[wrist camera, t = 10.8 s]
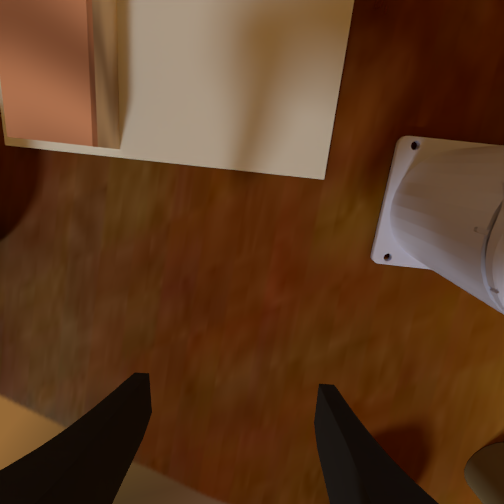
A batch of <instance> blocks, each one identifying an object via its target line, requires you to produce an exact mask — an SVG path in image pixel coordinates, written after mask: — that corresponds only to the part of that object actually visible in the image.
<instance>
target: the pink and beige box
mask: <svg viewBox="0 0 504 504" xmlns="http://www.w3.org/2000/svg"><path fill="white" fill-rule="evenodd" d="M0 82H1V90H2V98H3V106H4V114H5V122H6V130H7V137H13V138H22V139H31V140H40V141H48V142H57V143H66V144H75V145H84V146H93V147H102V148H112V149H120V134H119V85H118V36H117V0H0Z"/></svg>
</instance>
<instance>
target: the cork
mask: <svg viewBox="0 0 504 504" xmlns="http://www.w3.org/2000/svg"><path fill="white" fill-rule="evenodd" d="M464 471H465V479H466V481H467V483H468V485H469V486H470V488H471V489H472V490H473V491H474V493H475V494H476V495H477V496H478V498H479V499H480V500H481V501H482V503H483V504H504V442H501V443H495V444H492V445H489V446H486V447H484V448H482V449H481V450H479V451H478V452H476V453H475V454H474V455H473V456H472V457H471V458H470V459H469V461H468V462H467V465H466V467H465V469H464Z"/></svg>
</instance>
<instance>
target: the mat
mask: <svg viewBox="0 0 504 504" xmlns="http://www.w3.org/2000/svg"><path fill="white" fill-rule="evenodd" d="M353 5H354V0H117V36H118V85H119V134H120V149H112V148H102V147H93V146H84V145H75V144H66V143H57V142H48V141H40V140H31V139H22V138H13V137H7V130H6V122H5V114H4V106H3V98H2V90H1V82H0V110H1V117H2V125H3V133H4V140H5V145H8V146H18V147H27V148H36V149H45V150H55V151H64V152H73V153H82V154H92V155H101V156H110V157H119V158H129V159H138V160H147V161H157V162H166V163H175V164H184V165H194V166H203V167H212V168H221V169H231V170H240V171H249V172H259V173H268V174H277V175H286V176H296V177H305V178H314V179H323V180H324V177H325V171H326V165H327V159H328V153H329V147H330V142H331V136H332V130H333V124H334V118H335V112H336V106H337V100H338V94H339V88H340V82H341V76H342V70H343V65H344V59H345V53H346V47H347V41H348V35H349V29H350V23H351V17H352V11H353Z"/></svg>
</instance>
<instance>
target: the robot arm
mask: <svg viewBox="0 0 504 504" xmlns="http://www.w3.org/2000/svg"><path fill="white" fill-rule="evenodd" d="M412 142H416V144H417V147H416V149H414V150H413V149H412V148H411V144H412ZM386 254H389V258H388V259H384V256H385V255H386ZM371 259H372V260H373V261H374V262H375V263H378V264H387V265H396V266H405V267H414V268H423V269H432V270H433V271H435V272H437V273H438V274H440V275H441V276H443V277H445V278H446V279H448V280H449V281H451V282H453V283H454V284H456V285H457V286H459V287H461V288H462V289H464V290H465V291H467V292H469V293H470V294H472V295H473V296H475V297H477V298H478V299H480V300H481V301H483V302H485V303H486V304H488V305H489V306H491V307H493V308H494V309H496V310H497V311H499V312H501V313H502V314H504V145H492V144H483V143H473V142H464V141H455V140H445V139H436V138H426V137H417V136H403V137H401V138H400V139H399V140H398V141H397V143H396V147H395V151H394V155H393V160H392V164H391V168H390V173H389V177H388V182H387V186H386V190H385V195H384V199H383V203H382V208H381V212H380V216H379V221H378V225H377V230H376V234H375V238H374V243H373V247H372V251H371ZM151 413H152V408H151V394H150V381H149V373H134V374H133V375H132V376H130V377H129V378H128V379H127V380H126V381H124V382H123V383H122V384H121V385H120V386H119V387H118V388H116V389H115V390H114V391H113V392H112V393H111V394H109V395H108V396H107V397H106V398H105V399H103V400H102V401H101V402H100V403H99V404H97V405H96V406H95V407H94V408H93V409H91V410H90V411H89V412H88V413H86V414H85V415H84V416H82V417H81V418H80V419H79V420H77V421H76V422H75V423H73V424H72V425H71V426H69V427H68V428H67V429H65V430H64V431H62V432H61V433H60V434H58V435H57V436H55V437H54V438H52V439H51V440H50V441H48V442H46V443H45V444H44V445H42V446H40V447H39V448H37V449H36V450H34V451H32V452H31V453H29V454H27V455H26V456H24V457H22V458H21V459H19V460H17V461H16V462H14V463H12V464H10V465H9V466H7V467H5V468H4V469H2V470H0V504H112V503H113V500H114V498H115V496H116V494H117V492H118V490H119V488H120V486H121V483H122V481H123V479H124V477H125V475H126V473H127V471H128V469H129V467H130V465H131V463H132V460H133V458H134V456H135V454H136V452H137V450H138V448H139V446H140V443H141V441H142V439H143V437H144V434H145V431H146V428H147V425H148V422H149V419H150V416H151ZM314 425H315V434H316V441H317V449H318V453H319V458H320V462H321V467H322V471H323V475H324V479H325V483H326V488H327V492H328V496H329V500H330V504H438V503H437V502H436V501H435V500H434V499H433V498H432V497H431V496H429V495H428V494H427V493H426V492H425V491H424V490H423V489H422V488H421V487H419V486H418V485H417V484H416V483H415V482H414V481H413V480H412V479H411V478H410V477H409V476H408V475H407V474H406V473H405V472H404V471H403V470H402V469H401V468H400V467H399V466H398V465H397V464H396V463H395V462H394V461H393V460H392V459H391V458H390V457H389V455H388V454H387V453H386V452H385V451H384V450H383V449H382V447H381V446H380V445H379V444H378V443H377V442H376V440H375V439H374V438H373V437H372V436H371V434H370V433H369V432H368V431H367V429H366V428H365V427H364V426H363V424H362V423H361V422H360V420H359V419H358V418H357V416H356V415H355V414H354V412H353V411H352V410H351V408H350V407H349V405H348V404H347V403H346V401H345V400H344V398H343V397H342V395H341V394H340V393H339V391H338V390H337V388H336V387H335V386H334V385H329V384H319V388H318V396H317V404H316V412H315V420H314Z"/></svg>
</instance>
